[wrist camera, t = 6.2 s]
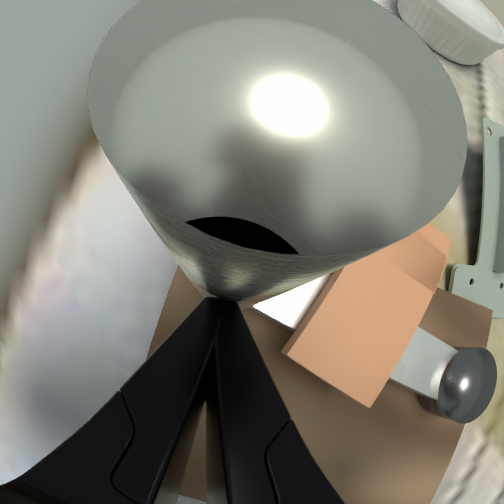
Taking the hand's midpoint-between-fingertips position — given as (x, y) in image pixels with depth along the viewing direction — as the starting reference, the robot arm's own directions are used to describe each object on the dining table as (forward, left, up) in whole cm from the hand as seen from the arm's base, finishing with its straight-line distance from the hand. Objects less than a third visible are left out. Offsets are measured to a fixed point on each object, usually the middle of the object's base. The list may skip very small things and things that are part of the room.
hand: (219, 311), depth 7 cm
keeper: (+2, -5, -7) cm, 9 cm away
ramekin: (+30, -11, -7) cm, 32 cm away
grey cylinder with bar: (+1, -6, -5) cm, 8 cm away
